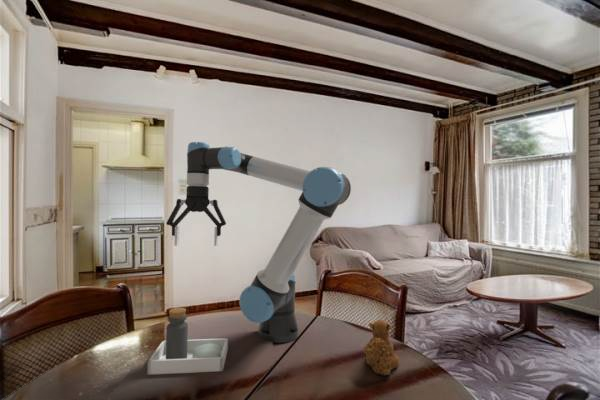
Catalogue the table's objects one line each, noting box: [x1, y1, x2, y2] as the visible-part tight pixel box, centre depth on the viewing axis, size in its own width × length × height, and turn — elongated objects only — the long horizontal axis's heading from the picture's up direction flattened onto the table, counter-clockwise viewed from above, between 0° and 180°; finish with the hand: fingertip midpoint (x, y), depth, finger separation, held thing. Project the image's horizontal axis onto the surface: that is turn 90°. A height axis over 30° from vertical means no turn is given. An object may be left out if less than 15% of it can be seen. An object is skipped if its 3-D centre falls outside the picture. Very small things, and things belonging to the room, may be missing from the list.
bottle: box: [165, 307, 189, 359], centre depth 91 cm, size 6×6×15 cm
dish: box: [193, 344, 221, 358], centre depth 92 cm, size 8×8×3 cm
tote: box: [146, 337, 229, 376], centre depth 91 cm, size 20×13×4 cm, turn 97°
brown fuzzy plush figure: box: [362, 319, 400, 376], centre depth 91 cm, size 10×14×13 cm
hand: (196, 245), depth 110 cm, fingers open, 13 cm apart
